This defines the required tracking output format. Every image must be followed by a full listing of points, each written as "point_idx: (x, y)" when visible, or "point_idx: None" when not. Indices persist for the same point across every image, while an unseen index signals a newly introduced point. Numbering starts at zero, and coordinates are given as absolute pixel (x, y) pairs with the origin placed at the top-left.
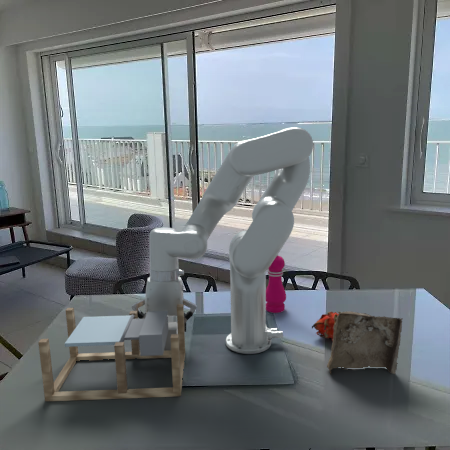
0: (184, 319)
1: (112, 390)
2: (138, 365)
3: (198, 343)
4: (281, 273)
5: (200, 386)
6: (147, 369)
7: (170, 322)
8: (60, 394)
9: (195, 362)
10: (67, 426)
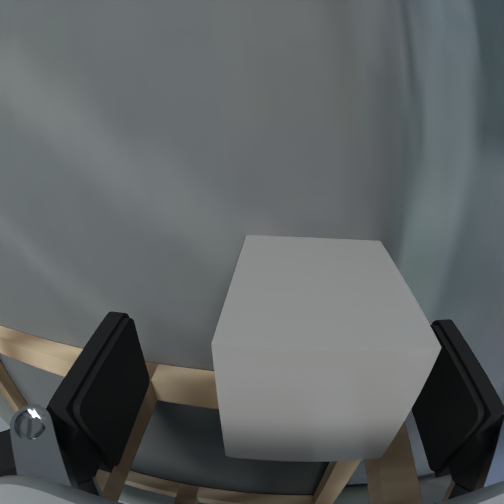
0: (469, 489)
1: (162, 491)
2: (179, 417)
3: (483, 278)
4: None
5: None
6: (222, 439)
7: (355, 360)
8: None
9: (411, 419)
10: (131, 495)
